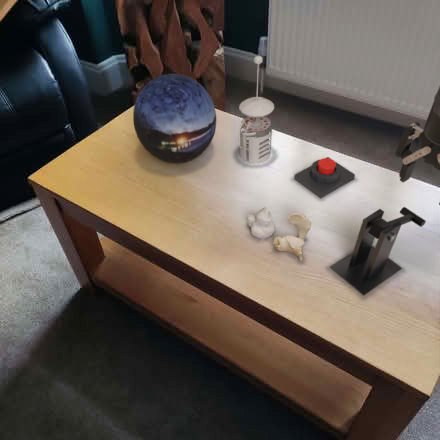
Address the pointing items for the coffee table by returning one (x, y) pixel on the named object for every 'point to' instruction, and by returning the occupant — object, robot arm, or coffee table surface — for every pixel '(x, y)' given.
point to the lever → (406, 218)
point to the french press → (256, 127)
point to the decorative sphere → (174, 118)
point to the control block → (323, 179)
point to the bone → (293, 242)
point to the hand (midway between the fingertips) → (423, 191)
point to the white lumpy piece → (261, 223)
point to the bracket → (369, 257)
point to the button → (326, 166)
